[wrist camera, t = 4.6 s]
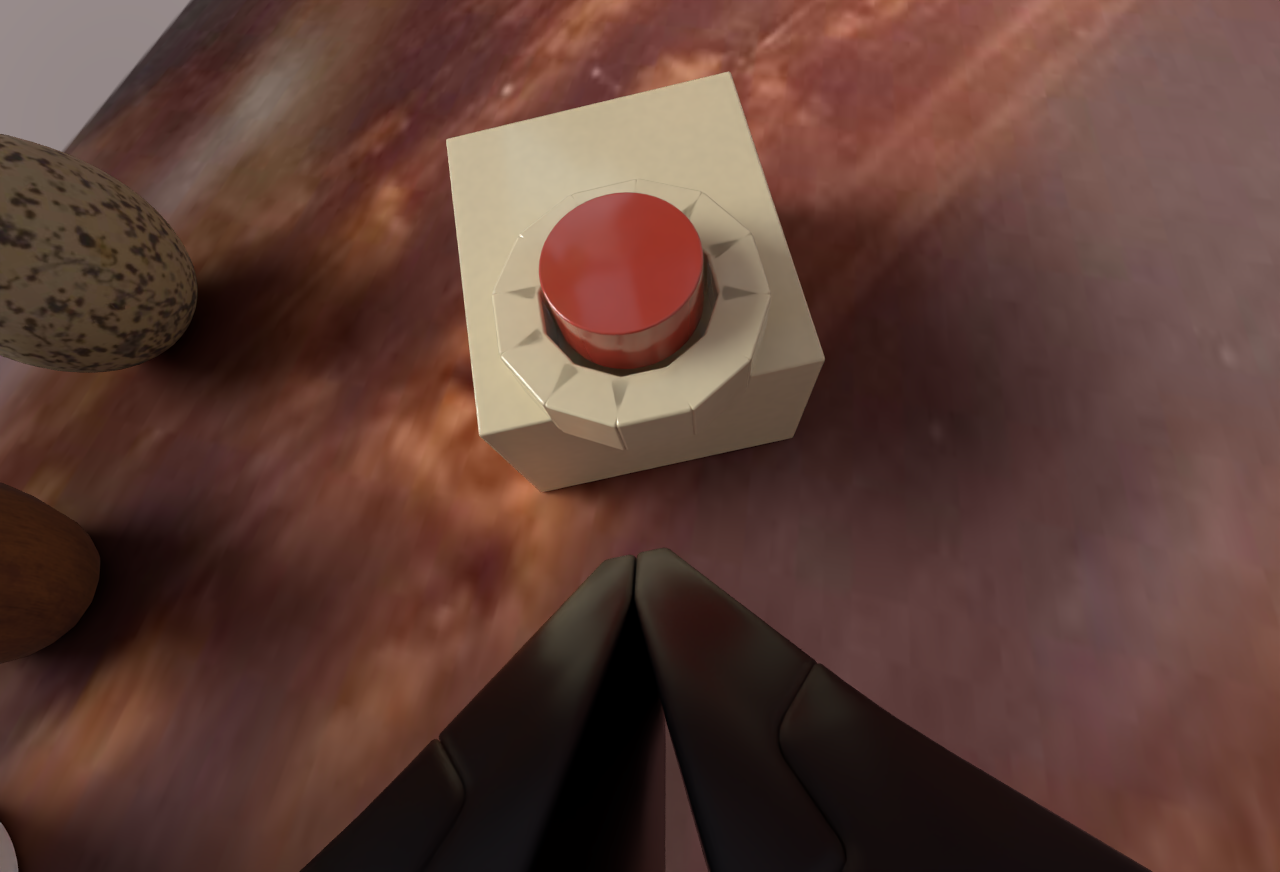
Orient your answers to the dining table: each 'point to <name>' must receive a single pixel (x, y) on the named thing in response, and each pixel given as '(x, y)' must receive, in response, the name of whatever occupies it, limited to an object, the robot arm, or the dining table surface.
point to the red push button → (624, 279)
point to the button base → (733, 288)
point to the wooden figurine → (41, 574)
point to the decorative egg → (84, 266)
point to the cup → (7, 852)
